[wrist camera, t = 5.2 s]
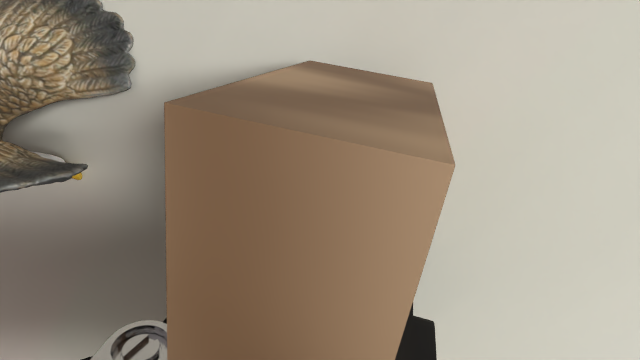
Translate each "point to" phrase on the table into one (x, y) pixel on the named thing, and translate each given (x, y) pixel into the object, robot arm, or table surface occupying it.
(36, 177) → the eagle figurine
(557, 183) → the table surface
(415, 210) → the brown rectangular block
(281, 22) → the table surface
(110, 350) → the robot arm
